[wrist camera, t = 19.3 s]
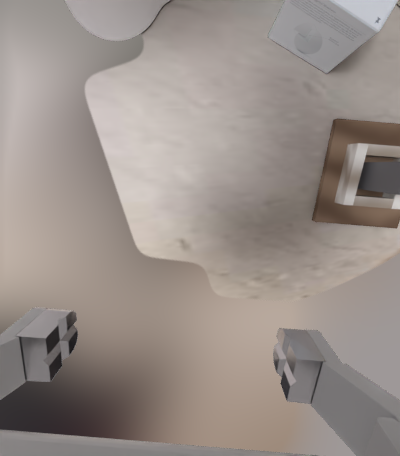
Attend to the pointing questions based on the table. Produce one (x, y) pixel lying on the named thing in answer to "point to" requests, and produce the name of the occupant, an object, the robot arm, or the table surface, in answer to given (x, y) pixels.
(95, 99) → the table surface
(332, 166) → the socket board
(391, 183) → the plug
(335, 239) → the table surface
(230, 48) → the table surface
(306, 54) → the skincare box
